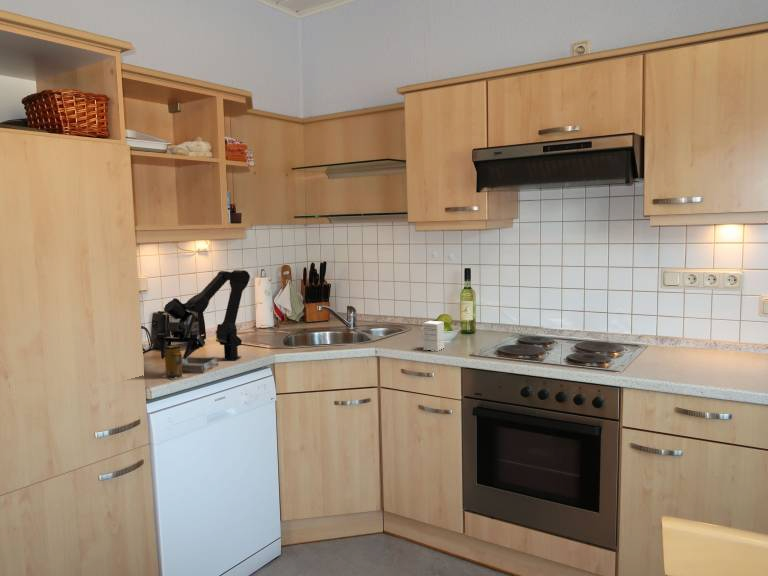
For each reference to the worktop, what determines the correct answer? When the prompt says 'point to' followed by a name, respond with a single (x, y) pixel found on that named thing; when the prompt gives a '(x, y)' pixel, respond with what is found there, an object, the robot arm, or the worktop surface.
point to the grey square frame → (198, 364)
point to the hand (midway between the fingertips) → (173, 358)
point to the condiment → (173, 362)
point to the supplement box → (433, 335)
